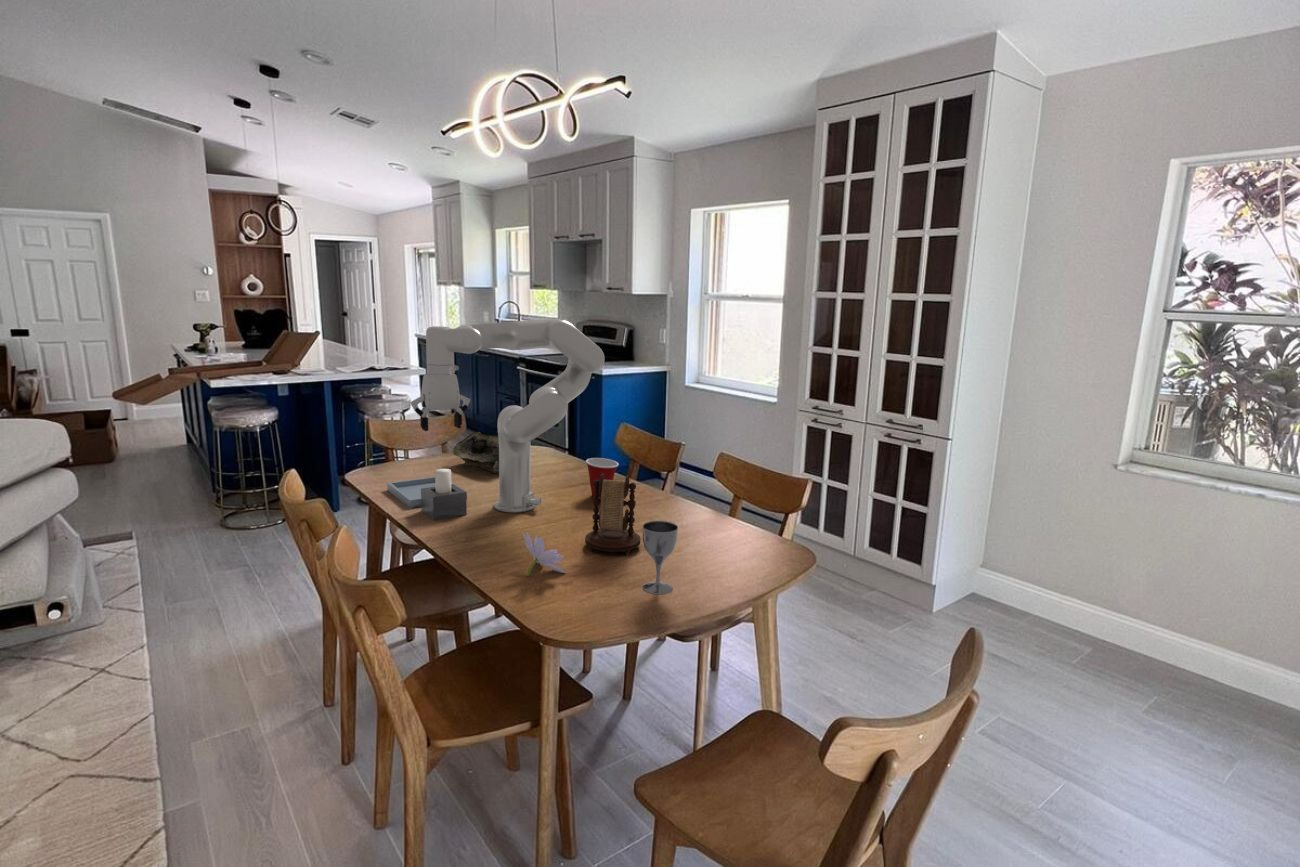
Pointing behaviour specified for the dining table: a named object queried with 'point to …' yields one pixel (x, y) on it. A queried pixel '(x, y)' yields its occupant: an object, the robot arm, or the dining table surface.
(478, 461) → the hollow geode rock
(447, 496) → the socket block
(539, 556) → the water lily
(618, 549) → the scroll
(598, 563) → the dining table surface
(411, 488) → the tray
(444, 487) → the dowel pin
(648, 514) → the dining table surface
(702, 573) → the dining table surface
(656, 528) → the wine glass
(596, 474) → the plastic cup
